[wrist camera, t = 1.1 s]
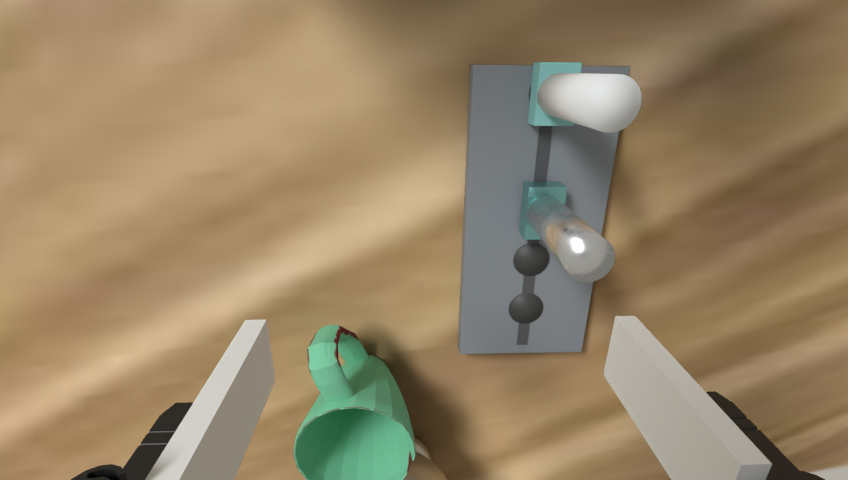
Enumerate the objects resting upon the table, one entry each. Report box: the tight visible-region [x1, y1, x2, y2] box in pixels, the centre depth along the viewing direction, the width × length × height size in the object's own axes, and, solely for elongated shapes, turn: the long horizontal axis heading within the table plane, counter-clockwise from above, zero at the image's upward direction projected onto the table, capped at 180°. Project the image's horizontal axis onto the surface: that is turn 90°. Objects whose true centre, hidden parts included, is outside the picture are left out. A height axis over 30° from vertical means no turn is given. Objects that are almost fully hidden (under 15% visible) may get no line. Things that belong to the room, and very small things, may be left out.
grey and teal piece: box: [458, 62, 642, 354], centre depth 33 cm, size 26×12×12 cm, turn 179°
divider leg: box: [519, 181, 615, 282], centre depth 31 cm, size 4×3×11 cm
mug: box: [293, 325, 416, 480], centre depth 39 cm, size 15×10×10 cm
